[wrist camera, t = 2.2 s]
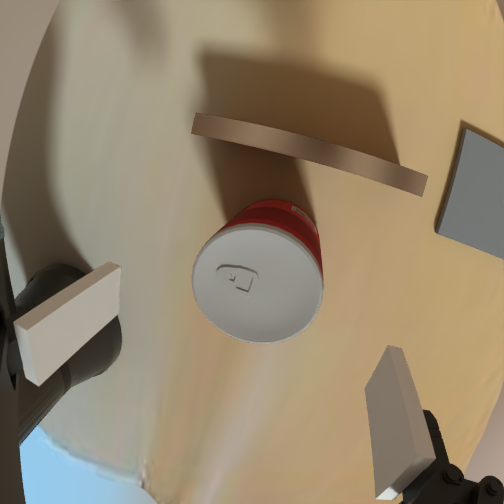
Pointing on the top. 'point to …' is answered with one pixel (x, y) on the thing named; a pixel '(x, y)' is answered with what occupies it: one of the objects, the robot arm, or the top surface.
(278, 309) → the canned food
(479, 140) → the slate mat
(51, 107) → the top surface
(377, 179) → the walnut screen
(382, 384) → the robot arm
